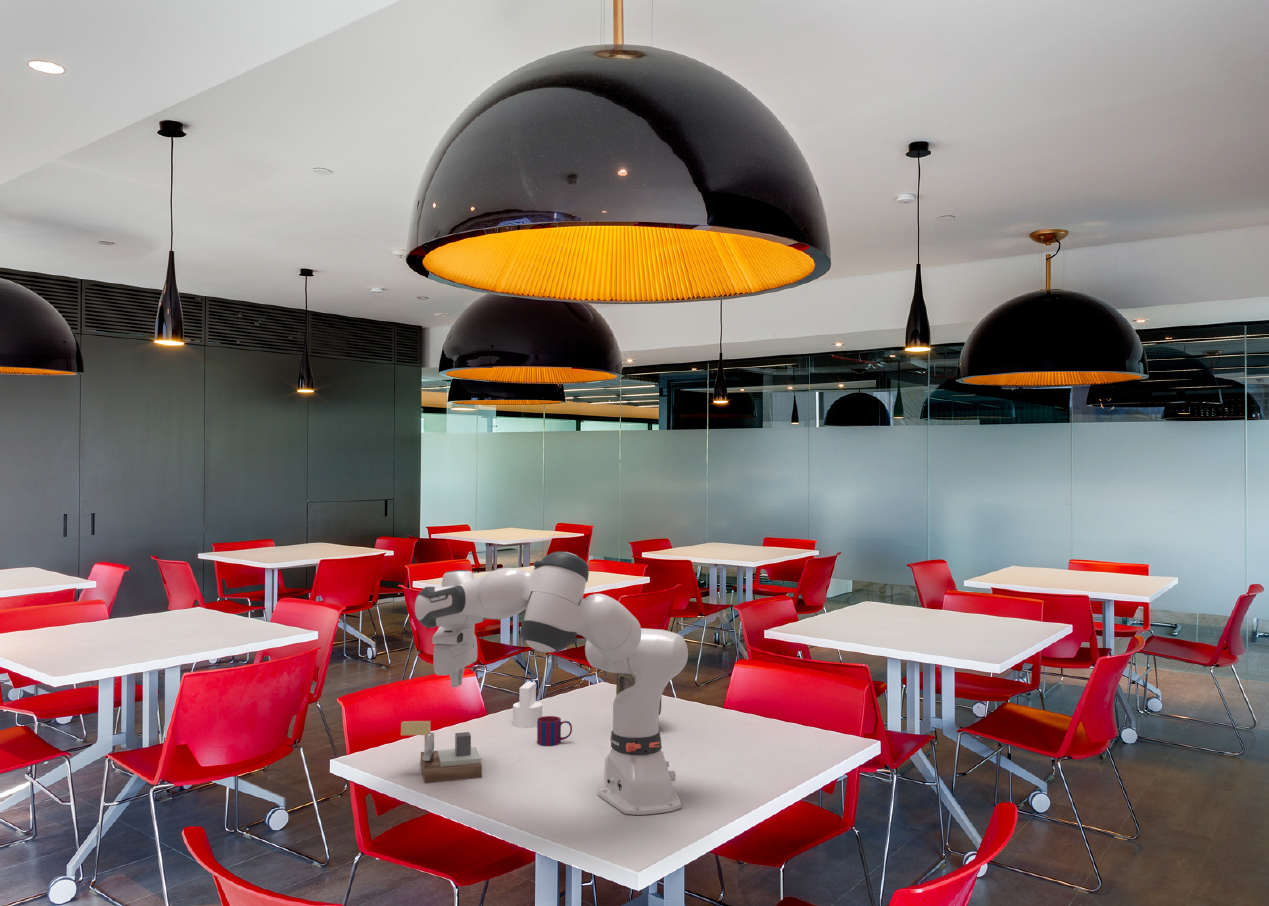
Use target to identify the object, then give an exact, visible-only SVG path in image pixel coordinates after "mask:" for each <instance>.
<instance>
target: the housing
mask: <svg viewBox="0 0 1269 906" xmlns="http://www.w3.org/2000/svg"><path fill="white" fill-rule="evenodd" d="M423 756H424V751H420V768H421V772H422V777H423V781H424V784H426V783H427V784H429V783H430V784H431V783H439V782H448V781H450V782H451V781H458V780H459V781H460V780H461V781H462V780H469V779H479V778H482V775H483V772H482V771H483V765H482V762H481V763H476V764H465V765H454V766H443V767H441V766H440V762H439V759H438V756H437V750H434V761H432V762H425V761H423Z"/></svg>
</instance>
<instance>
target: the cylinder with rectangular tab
mask: <svg viewBox="0 0 1269 906" xmlns="http://www.w3.org/2000/svg"><path fill="white" fill-rule="evenodd" d="M518 696H519V698H518V700H519V701H517V702H515V703H512V704H513V705H512V725H513V727H516V728H520V729H521V728H522V729H531V728H537V719H538V718H540V717H543V703H541V702H539V701H537V682H535V681H526V682H525V683H524V684H523V685H522V686H520V687H519V695H518Z"/></svg>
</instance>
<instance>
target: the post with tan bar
mask: <svg viewBox="0 0 1269 906" xmlns="http://www.w3.org/2000/svg"><path fill="white" fill-rule="evenodd" d="M400 736H424V745H423V746H424V751H423V752H424V756H423V761H425V762H432V761H434V751H435V733H434V732H431V720H410V721H409V720H407V721H406V720H405V721H402V722H401V723H400Z"/></svg>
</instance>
